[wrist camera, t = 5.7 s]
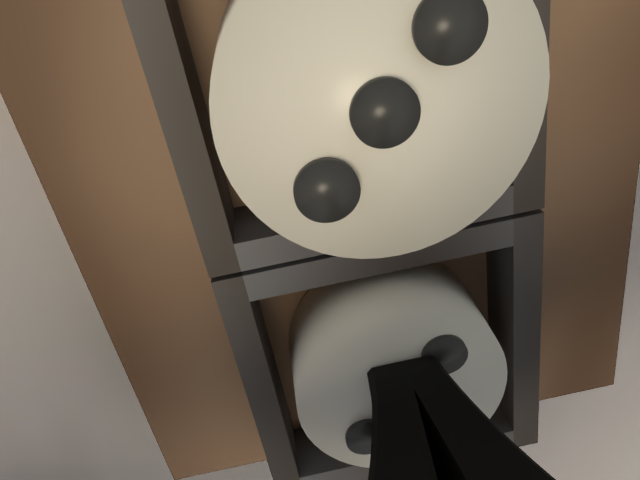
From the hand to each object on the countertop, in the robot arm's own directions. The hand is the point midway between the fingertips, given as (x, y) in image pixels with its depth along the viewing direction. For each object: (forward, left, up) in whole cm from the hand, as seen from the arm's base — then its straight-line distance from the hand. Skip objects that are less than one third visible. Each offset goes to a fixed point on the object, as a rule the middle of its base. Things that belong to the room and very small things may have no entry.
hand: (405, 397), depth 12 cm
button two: (0, 0, -2) cm, 2 cm away
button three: (0, +7, -1) cm, 7 cm away
